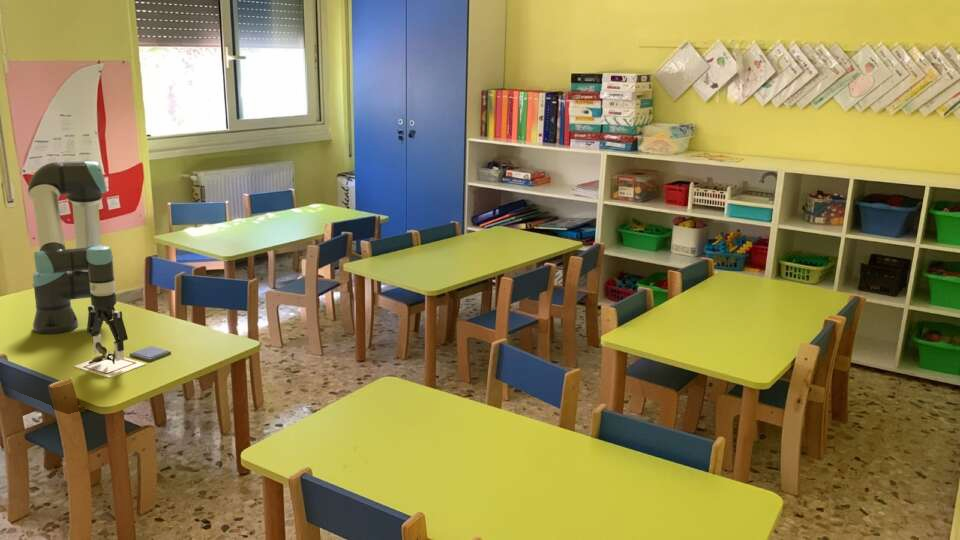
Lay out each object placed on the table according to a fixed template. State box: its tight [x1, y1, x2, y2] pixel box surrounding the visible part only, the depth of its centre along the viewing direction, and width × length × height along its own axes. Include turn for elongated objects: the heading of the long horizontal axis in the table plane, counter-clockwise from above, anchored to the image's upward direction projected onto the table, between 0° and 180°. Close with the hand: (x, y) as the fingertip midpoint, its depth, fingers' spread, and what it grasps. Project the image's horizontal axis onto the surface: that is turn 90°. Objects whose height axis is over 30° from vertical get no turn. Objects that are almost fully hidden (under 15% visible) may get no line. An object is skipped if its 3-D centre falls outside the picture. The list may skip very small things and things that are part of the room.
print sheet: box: [73, 356, 147, 379], centre depth 266 cm, size 18×14×1 cm
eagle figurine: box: [89, 342, 115, 364], centre depth 262 cm, size 8×7×9 cm
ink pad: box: [129, 345, 172, 362], centre depth 277 cm, size 10×9×1 cm
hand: (109, 356), depth 265 cm, fingers closed on eagle figurine, 10 cm apart
